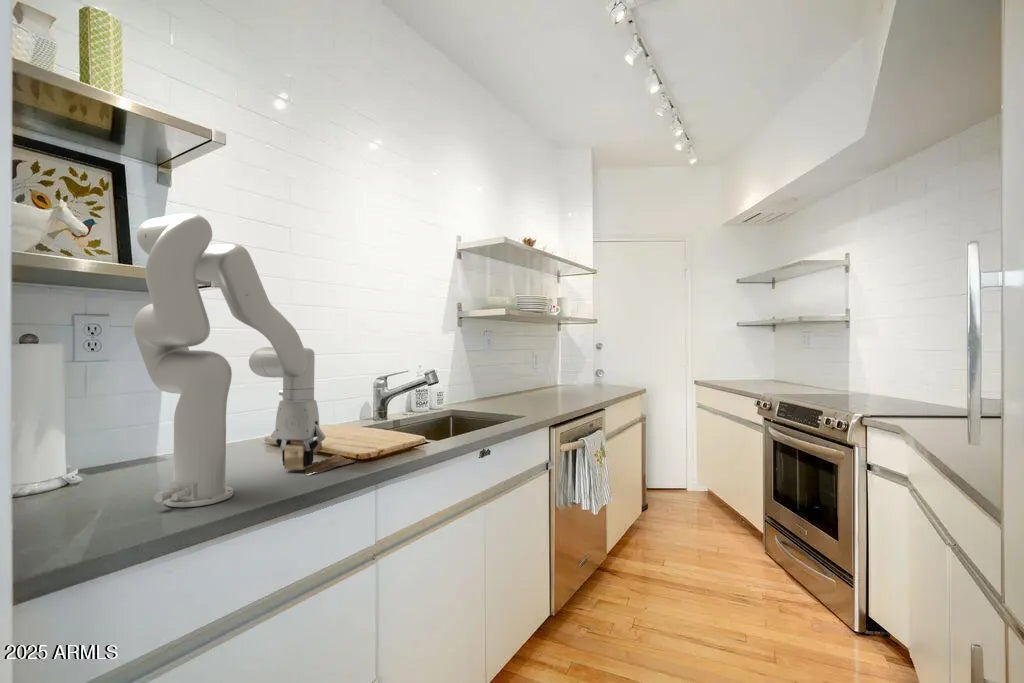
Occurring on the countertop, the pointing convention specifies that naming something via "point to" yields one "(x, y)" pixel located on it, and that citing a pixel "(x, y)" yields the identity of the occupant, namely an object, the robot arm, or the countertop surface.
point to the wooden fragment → (328, 464)
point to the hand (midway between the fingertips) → (297, 464)
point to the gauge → (297, 455)
